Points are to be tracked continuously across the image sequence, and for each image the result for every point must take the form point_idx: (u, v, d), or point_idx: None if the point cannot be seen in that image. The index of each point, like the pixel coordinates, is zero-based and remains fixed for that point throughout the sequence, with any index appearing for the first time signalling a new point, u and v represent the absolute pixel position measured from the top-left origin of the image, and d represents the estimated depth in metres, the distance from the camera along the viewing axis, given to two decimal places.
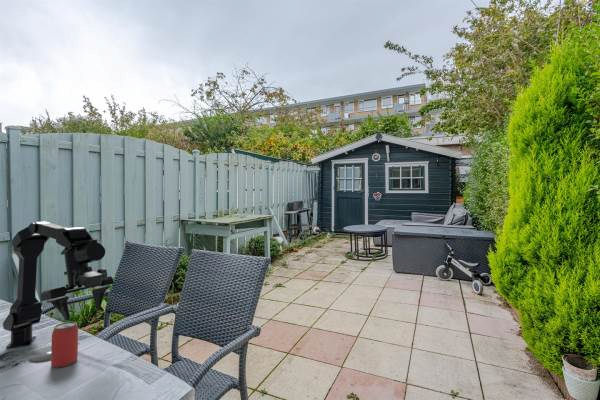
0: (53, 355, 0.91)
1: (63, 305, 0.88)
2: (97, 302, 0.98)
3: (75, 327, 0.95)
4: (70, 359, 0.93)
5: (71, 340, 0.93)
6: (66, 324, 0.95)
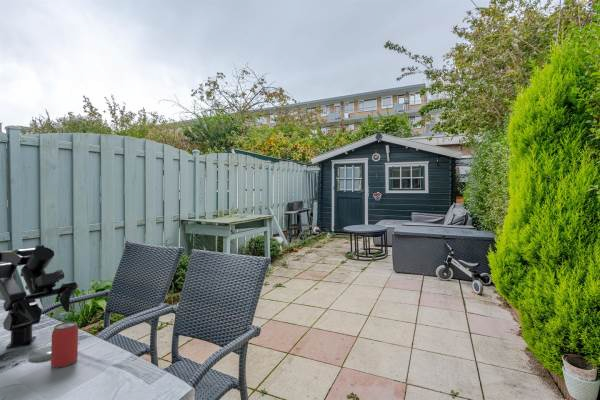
0: (53, 355, 0.91)
1: (26, 307, 0.93)
2: (65, 305, 1.02)
3: (75, 327, 0.95)
4: (70, 359, 0.93)
5: (71, 340, 0.93)
6: (66, 324, 0.95)
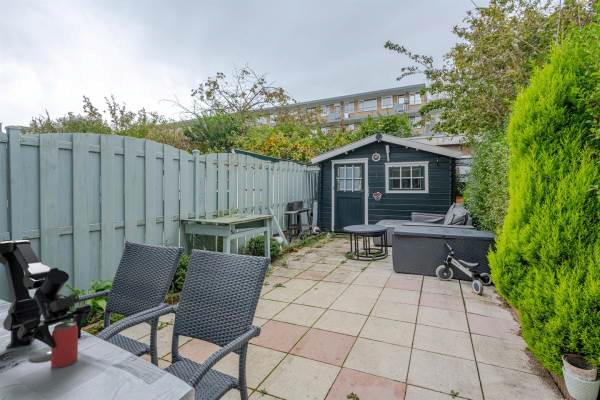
0: (53, 355, 0.91)
1: (45, 333, 0.90)
2: None
3: (75, 327, 0.95)
4: (70, 359, 0.93)
5: (71, 340, 0.93)
6: (66, 324, 0.95)
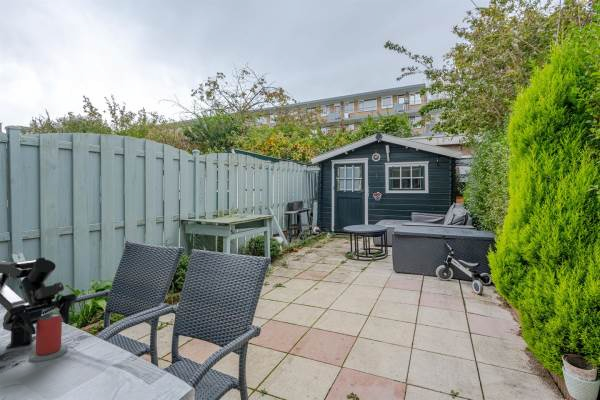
0: (37, 344, 0.96)
1: (26, 320, 0.94)
2: (64, 317, 1.03)
3: (59, 318, 1.00)
4: (54, 347, 0.98)
5: (55, 330, 0.98)
6: (50, 315, 1.01)
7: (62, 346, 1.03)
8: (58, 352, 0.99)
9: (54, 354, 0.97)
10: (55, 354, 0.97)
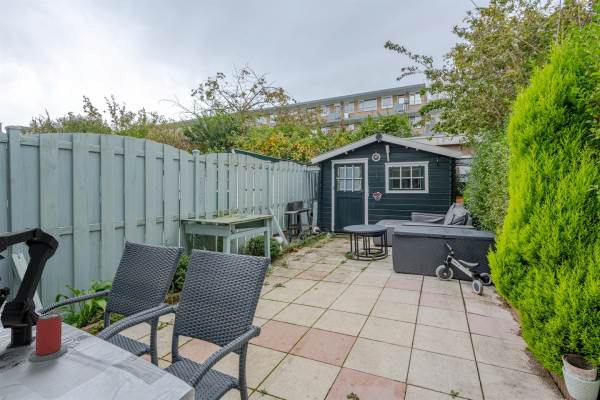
0: (37, 344, 0.96)
1: None
2: None
3: (59, 318, 1.00)
4: (54, 347, 0.98)
5: (55, 330, 0.98)
6: (50, 315, 1.00)
7: (62, 346, 1.03)
8: (58, 352, 0.99)
9: (54, 354, 0.97)
10: (55, 354, 0.97)
